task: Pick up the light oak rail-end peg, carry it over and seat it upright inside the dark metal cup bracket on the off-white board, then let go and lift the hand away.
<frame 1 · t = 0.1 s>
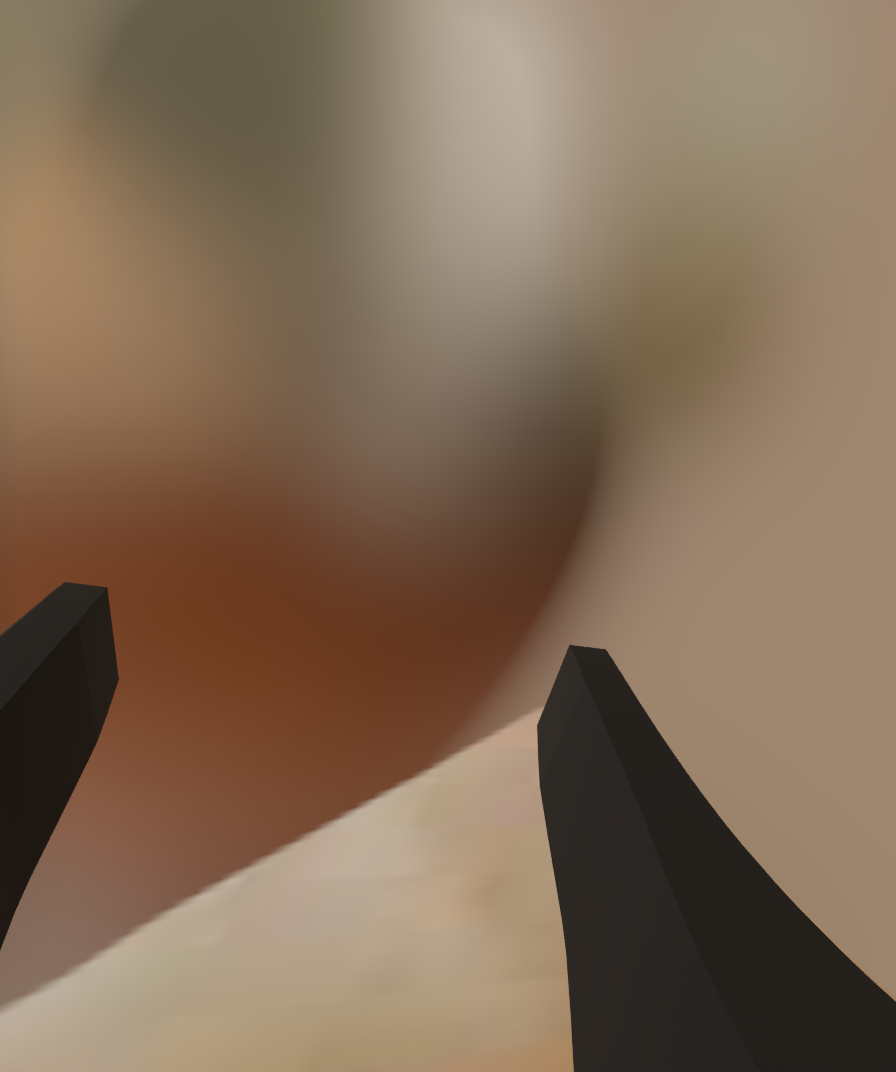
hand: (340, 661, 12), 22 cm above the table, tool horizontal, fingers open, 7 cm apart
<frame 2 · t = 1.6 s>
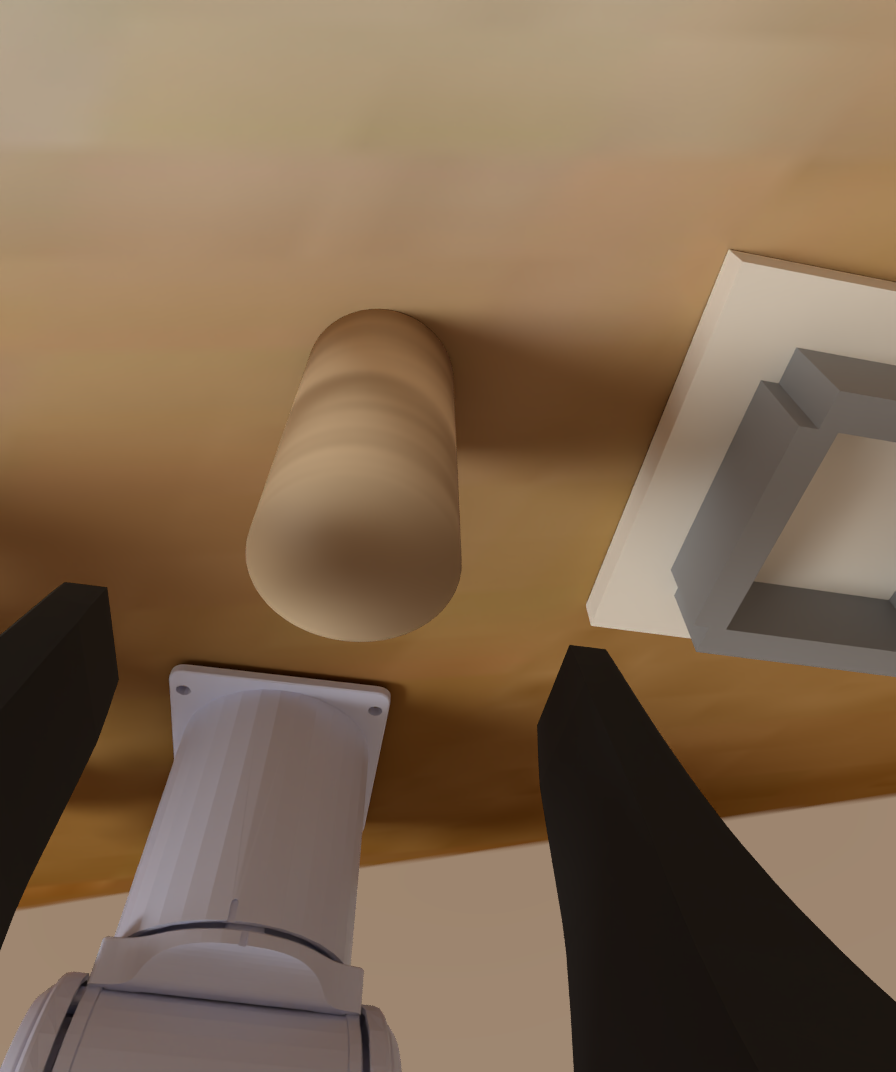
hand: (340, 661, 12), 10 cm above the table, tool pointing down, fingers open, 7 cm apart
rail end peg: (380, 380, 20), on the table
cup bracket: (832, 486, 22), on the table
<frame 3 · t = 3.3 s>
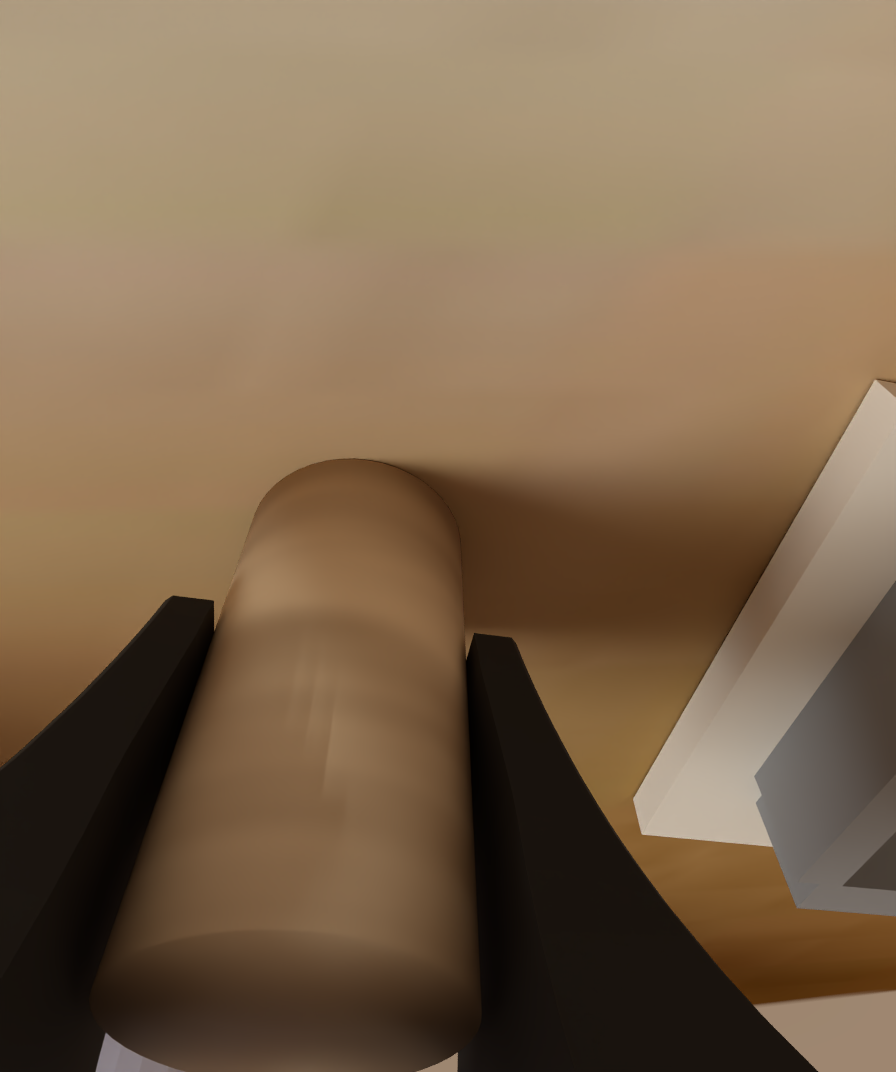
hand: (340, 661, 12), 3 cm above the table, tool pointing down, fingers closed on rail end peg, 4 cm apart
rail end peg: (356, 548, 14), on the table, touching gripper
when the fingers open (5 cm above the table, at t = 7.0 s): rail end peg drops 1 cm, resting on cup bracket.
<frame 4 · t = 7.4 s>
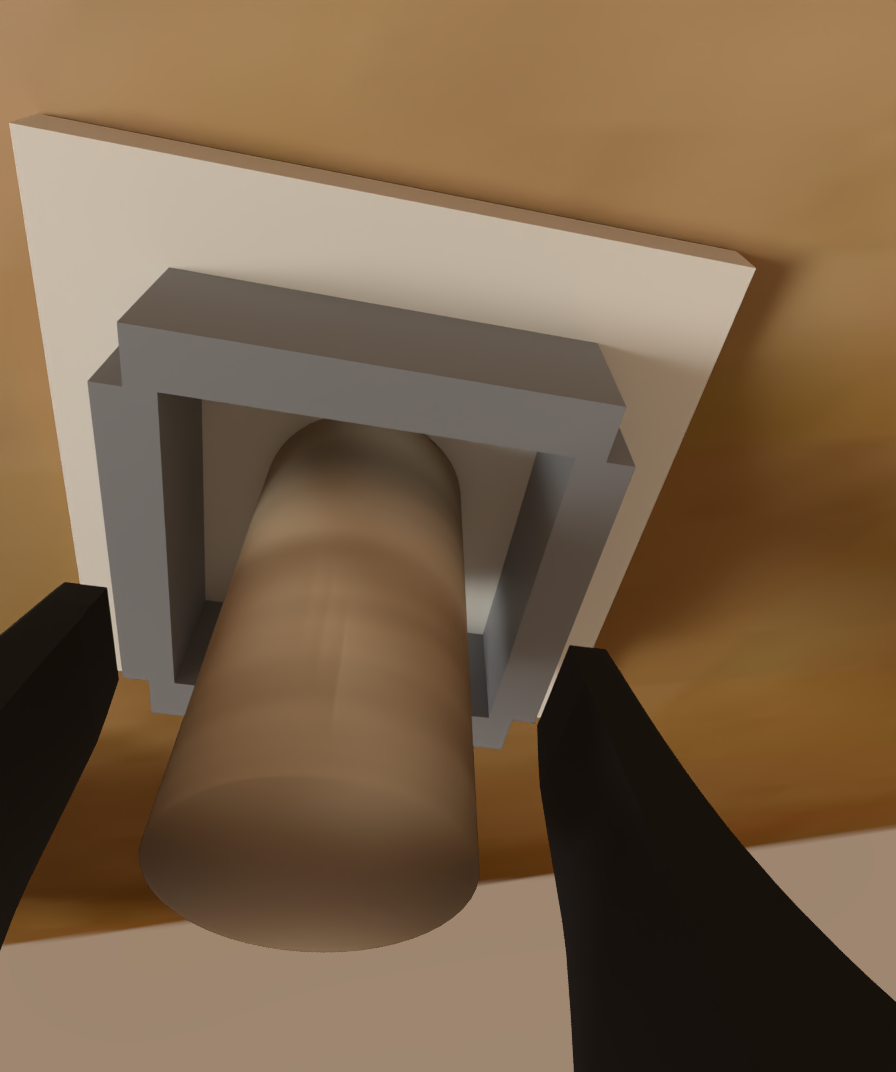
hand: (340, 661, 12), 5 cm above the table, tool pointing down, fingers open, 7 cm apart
rail end peg: (364, 499, 15), point 1 cm above the table, touching cup bracket
cup bracket: (366, 479, 16), on the table
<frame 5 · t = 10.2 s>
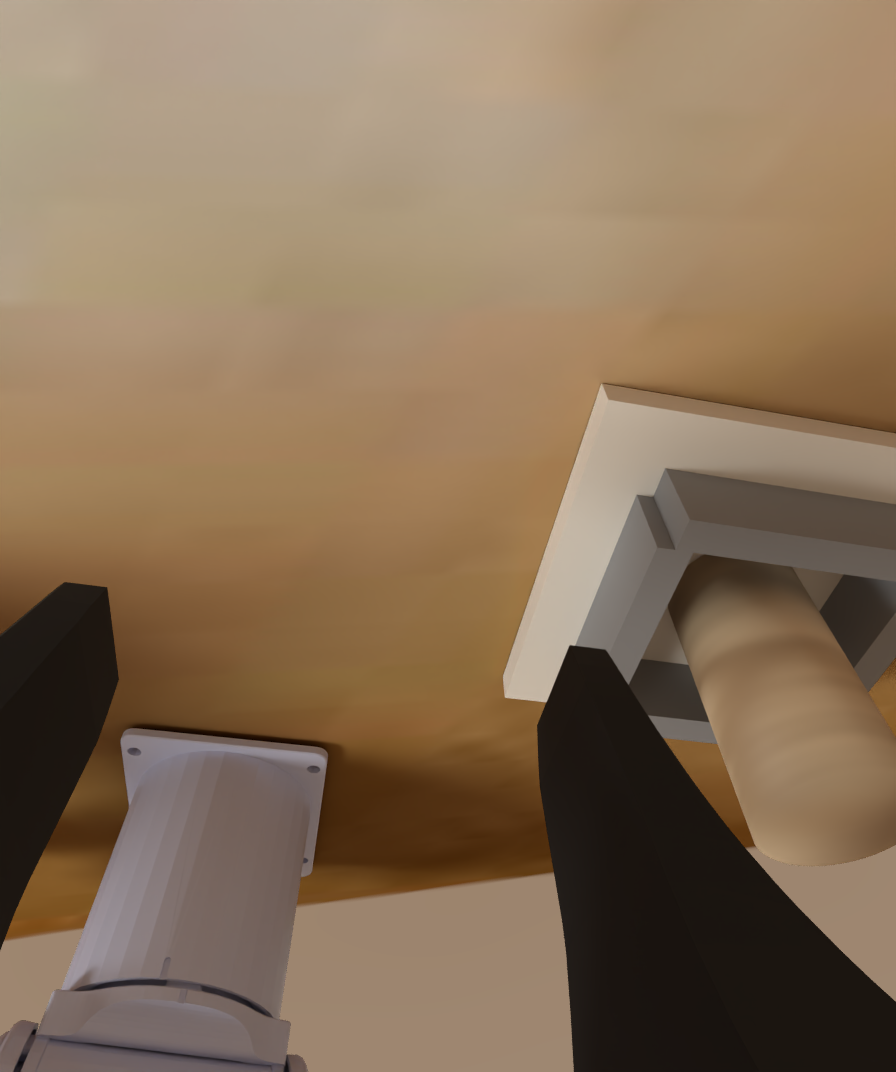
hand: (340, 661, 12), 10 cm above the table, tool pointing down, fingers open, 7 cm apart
rail end peg: (730, 593, 23), point 1 cm above the table, touching cup bracket
cup bracket: (718, 576, 24), on the table
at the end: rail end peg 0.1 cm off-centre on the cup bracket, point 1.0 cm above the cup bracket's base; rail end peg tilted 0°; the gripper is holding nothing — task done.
